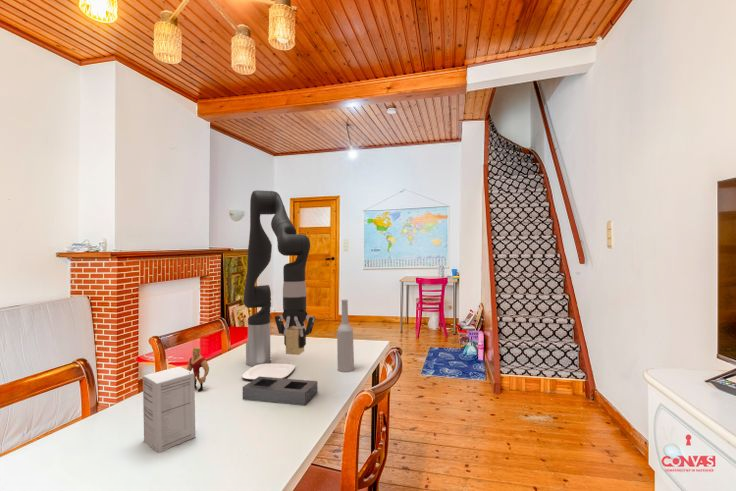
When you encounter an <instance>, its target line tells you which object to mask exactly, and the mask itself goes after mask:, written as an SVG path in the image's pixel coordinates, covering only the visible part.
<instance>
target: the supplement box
mask: <svg viewBox="0 0 736 491" xmlns="http://www.w3.org/2000/svg"><path fill="white" fill-rule="evenodd" d="M195 389H196V388H195V387H194V373H193V371H192V370H191V371H189V370H187V368H184V367H182V366H176V367H171V368H167V369H164V370H160V371H156V372H152V373H149V374H146V375H145V374H144V375H143V376H142V397H143V398H142V401H143V402H142V404H143V405H142V406H143V408H142V409H143V411H142V412H143V441H144V442H145V443H146V444H147V445H148V446H149V447H150V448H151V449H153V451H155V452H156V453H161V452H162V451H165V450H167V449H170V448H173V447H175V446H178V445H179V444H182V443H185V442H187V441H189V440H192V439H193V438H196V403H195V402H196V400H195V398H196V397H195V394H196V393H195V392H196V391H195Z"/></svg>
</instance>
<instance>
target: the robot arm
mask: <svg viewBox="0 0 736 491" xmlns="http://www.w3.org/2000/svg"><path fill="white" fill-rule="evenodd" d="M282 199H283V198H281V195H280V193H278V192H277V191H273V190H253V191H252V192H251V195H250V199H249V200H250V201H249V202H250V204H249V206H250V207H249V210H250V211H249V214H250V215H249V218H250V219H249V237H248V244H247V245H248V247H247V248H248V249H247V260H246V261H247V265H246V266H247V267H246V268H247V269H246V277H245V283H244V284H245V285H244V292H243V304H244V307H246V308H247V309H255V308H256V309H257V308H261V309H260V310H259V311H258V312H256V313H254V314H252V315H250V316H249V317H247V341H246V342H245V365H247V366H250V367H253V366H256V365H259V364H271V363H272V361H271V359H272V358H271V354H272V353H271V302H272V300H271V299H272V293H271V288H270V287H269V285H256V282H257V280H258V278H259V277H260V275H261V274H262V273H263V272H264V271H265V270H266V269H267V267H268V265H269V264H270V262H271V259H272V251H273V250H272V249H273V247H272V246H273V245H272V241H271V240H270V238H269V236H268V234H267V233H266V231H265V230H264V228H263V225H262V224H261V216H262V215H273V217H272V219H271V222H270V226H271V229H272V232H273V233H274V235H275V237H276V241H277V251H278V252H279V254H281V255H282V256H287V257H289V256H290V257H293V256H296V258H295V260H294V261H292V262H289V263H286V264H284V265H283V268H282V269H283V271H282V272H283V285H282V309H283V311H282V314H278V315H276V316H274V321H275V324H276V328H277V332H278V334H280V335H283V336H284V337H283V339H284V342H283V343H284V346H286V329H289V328H291V327H297V329H299V330H300V336H301V337H300V348H303V347H304V348H305V346H307V345H306V344H307V336H308V335H310V334H312V331H313V328H314V324H315V321H316V316H315V315H308V312H307V285H306V284H307V283H306V265H307V261H308V257H309V253H310V249H311V241H310V239H309V237H308V236H307V235H306V234H301V233H300V234H299V233H298V234H297V229H296V227H295V225H294V223H293V222H292V221H291V220H290V218H289V217H288V214H287V212H286V207H285V205H284V202H283V200H282ZM283 321H284V322H285V324H284V322H283ZM305 321H306V323H307V325H306V324H305Z"/></svg>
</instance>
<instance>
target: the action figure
mask: <svg viewBox="0 0 736 491" xmlns="http://www.w3.org/2000/svg"><path fill="white" fill-rule="evenodd" d="M201 368H202V369H203V370H204V374H203V376H201V377H200V373H201V372H200V369H201ZM186 370H189V371H191V372H193V373H194V387H195V389H196V388H197V387H198V386H197V382H198V383H199V385H200V386H199V388H198V390H197V392H201V391H202V390H204V384H203V383H205V382H206V379H207V376H208V374H209V371H210V367H209V364H208V361H207V359H205V357H203V356H202V355H201V348H200V347H197V346H194V347H193V348H192V357H190V358H189V359H188V361H187V367H186Z"/></svg>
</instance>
